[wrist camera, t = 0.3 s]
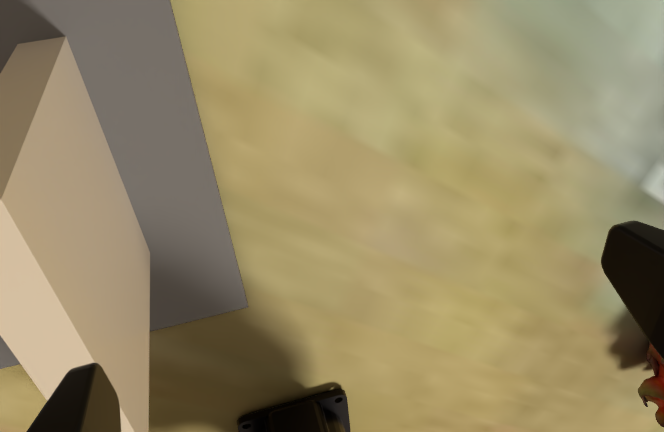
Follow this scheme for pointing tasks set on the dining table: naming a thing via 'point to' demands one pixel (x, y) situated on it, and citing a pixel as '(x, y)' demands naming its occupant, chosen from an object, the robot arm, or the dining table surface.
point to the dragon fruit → (654, 384)
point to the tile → (68, 235)
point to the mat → (146, 144)
